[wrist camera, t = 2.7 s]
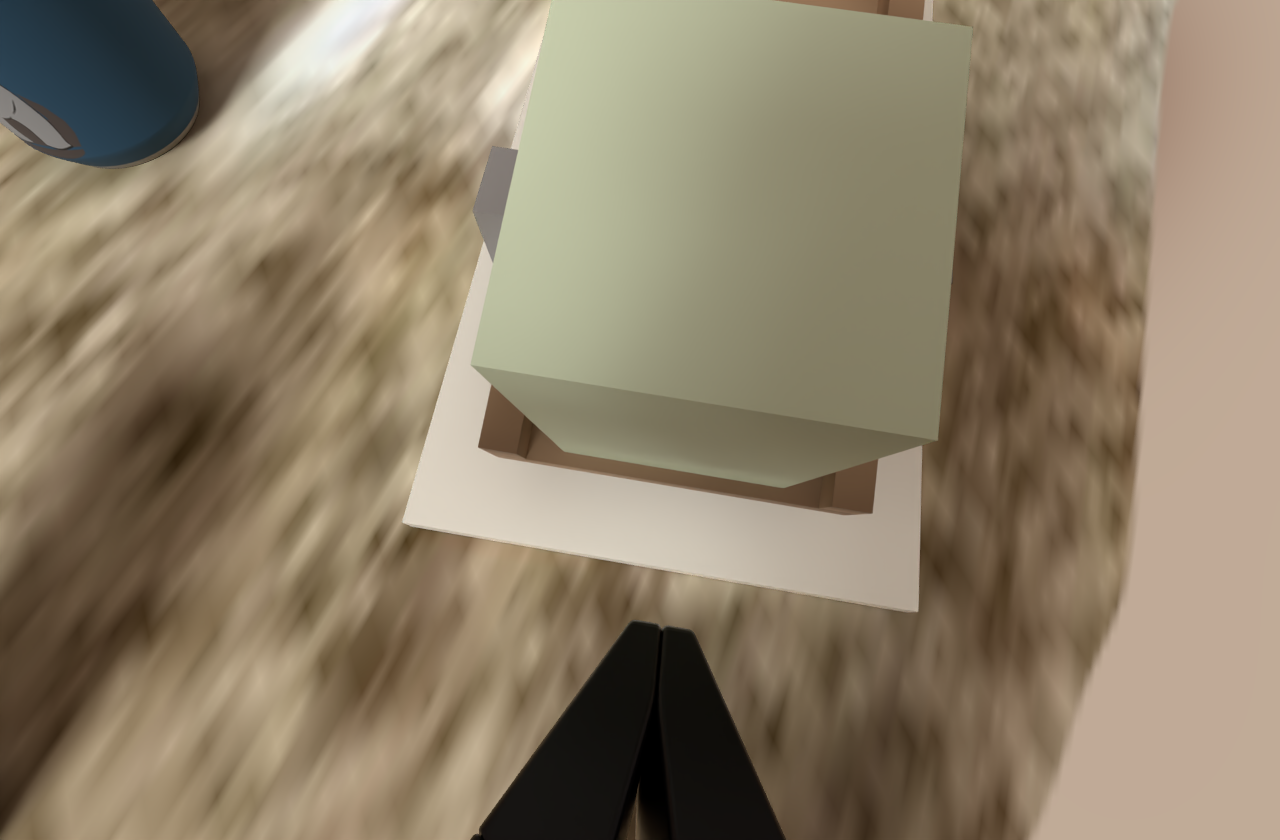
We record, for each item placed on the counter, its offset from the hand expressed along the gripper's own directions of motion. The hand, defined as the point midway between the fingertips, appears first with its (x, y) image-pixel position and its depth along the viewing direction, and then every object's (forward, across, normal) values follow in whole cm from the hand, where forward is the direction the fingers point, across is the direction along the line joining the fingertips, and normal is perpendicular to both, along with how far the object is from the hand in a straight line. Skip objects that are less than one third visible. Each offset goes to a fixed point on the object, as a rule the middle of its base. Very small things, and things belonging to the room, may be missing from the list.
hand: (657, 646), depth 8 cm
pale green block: (+10, 0, 0) cm, 10 cm away
